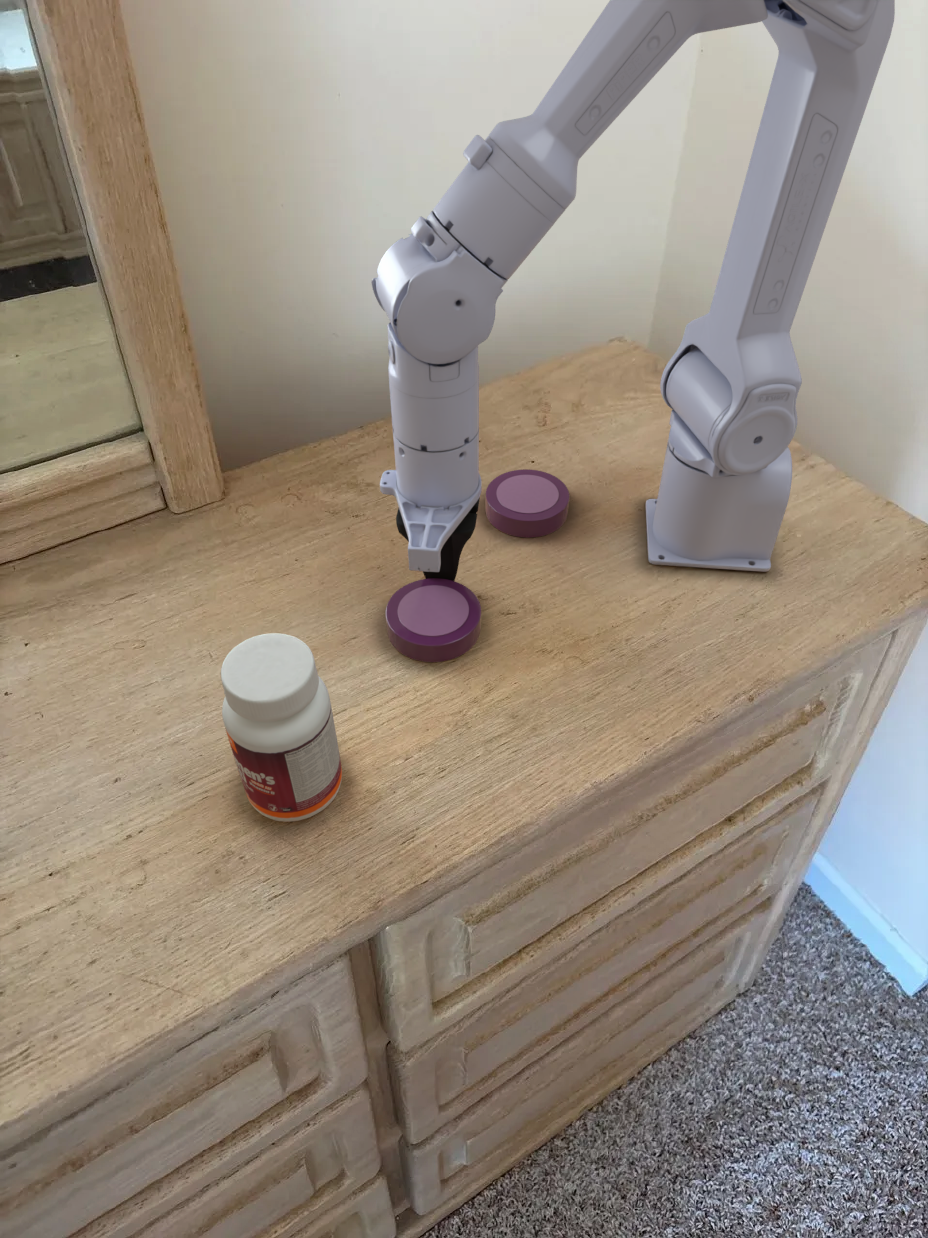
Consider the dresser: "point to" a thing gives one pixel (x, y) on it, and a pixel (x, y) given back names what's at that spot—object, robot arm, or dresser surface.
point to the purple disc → (433, 620)
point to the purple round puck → (527, 503)
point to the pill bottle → (280, 727)
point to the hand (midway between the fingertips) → (441, 578)
